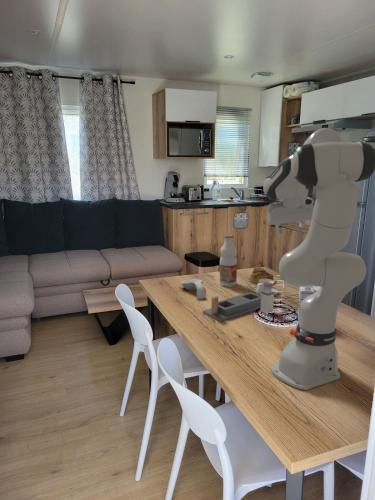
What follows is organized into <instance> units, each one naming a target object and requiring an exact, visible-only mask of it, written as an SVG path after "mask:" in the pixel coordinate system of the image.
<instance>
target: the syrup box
mask: <svg viewBox="0 0 375 500" xmlns="http://www.w3.org/2000/svg"><path fill="white" fill-rule="evenodd" d="M314 293H315V291H314V286H299V289H298V303H297V304H298V306H297V307H298V308H297V320H298V322H299V317H300V305H301V302H302V301H303V300H304V299H305V298H306V297H307V296H309V295H312V294H314Z"/></svg>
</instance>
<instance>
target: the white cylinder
mask: <svg viewBox="0 0 375 500" xmlns="http://www.w3.org/2000/svg"><path fill="white" fill-rule="evenodd" d="M274 303H275V295H274V292H273V291H270V290H268V289H267V290H264V291H261V308H260V311H263V312H265V313H269V312H272V311H273V312H274ZM260 311H259V312H260Z"/></svg>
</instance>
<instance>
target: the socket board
mask: <svg viewBox="0 0 375 500" xmlns="http://www.w3.org/2000/svg"><path fill="white" fill-rule="evenodd" d="M256 287H257V288H256V289H257V293H254V292H252V291H250V292H247V293H244V294H240V295H236V296H233V297H230V298H226V299H224V300H219V296H218V295H211V297H210V298H211V301H210V303H211V305H210V307H211V308H208V309H205V310H202V314H204V315H206V316H208V317H210V318H212V319H214V320H216V321H217V322H223V321H227V320H230V319H233V318H235V317H238V316H242V315H244V314H247V313H251V312H253V311H256V309H257V310H259V309H258V308H260V307H261V291H264V284H263V283H258V284H256Z"/></svg>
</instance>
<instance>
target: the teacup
mask: <svg viewBox="0 0 375 500" xmlns="http://www.w3.org/2000/svg"><path fill="white" fill-rule="evenodd" d="M259 282H260V283H263V284H264V290H267V289H268V290H270V291H273V292H274V296H277V295H278V294H279V291H278V290H277V289H275V288H273V285H274V284H275V280H274V281H273V280H271V279H260V280H259ZM254 292H255V294H257V288H256V289H255V290H254Z"/></svg>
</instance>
